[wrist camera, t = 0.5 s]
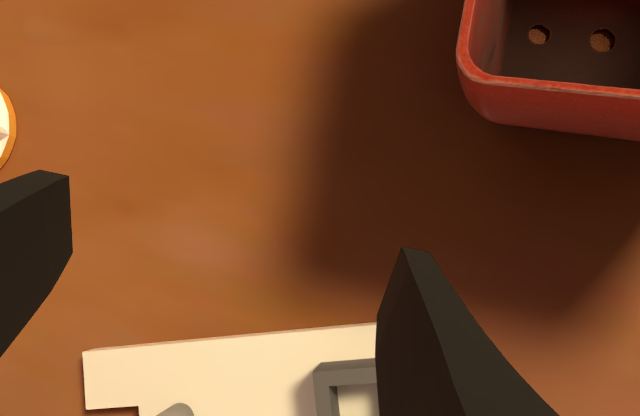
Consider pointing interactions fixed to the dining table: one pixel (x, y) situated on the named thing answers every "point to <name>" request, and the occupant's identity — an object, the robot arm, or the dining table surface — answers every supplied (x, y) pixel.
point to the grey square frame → (339, 381)
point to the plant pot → (552, 65)
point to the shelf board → (230, 374)
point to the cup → (6, 127)
